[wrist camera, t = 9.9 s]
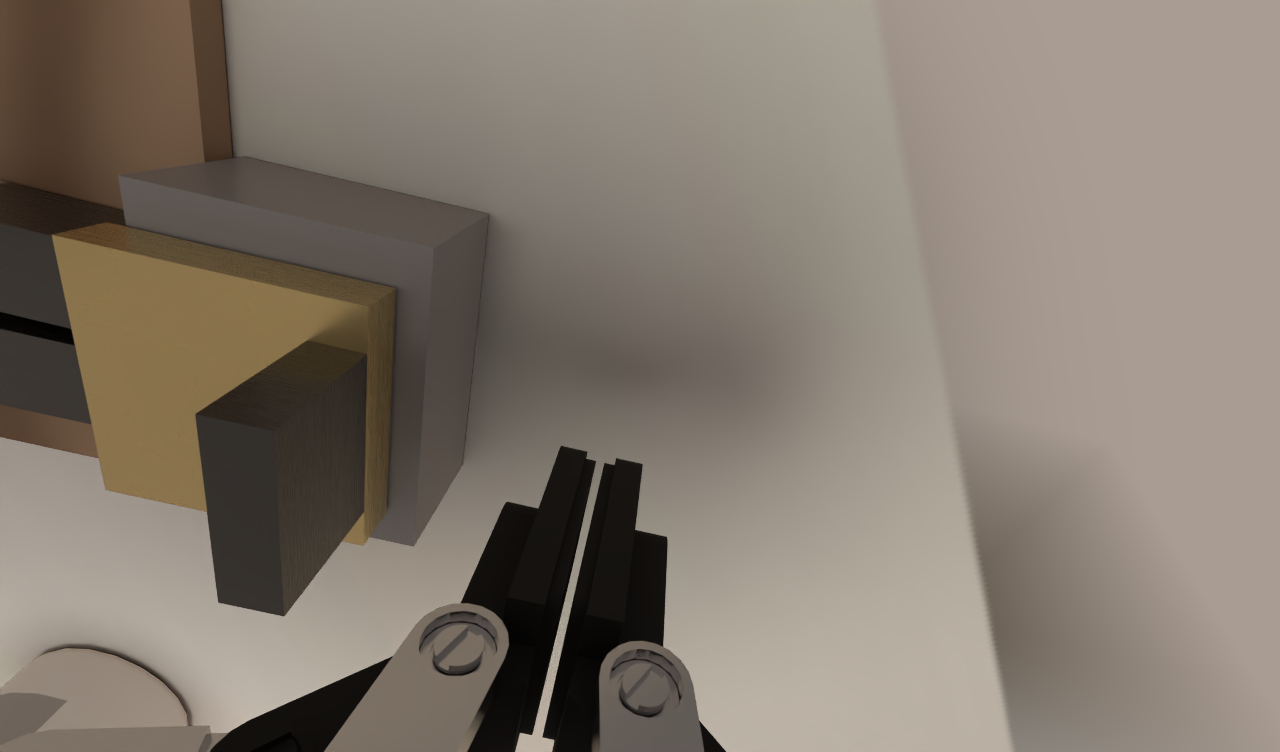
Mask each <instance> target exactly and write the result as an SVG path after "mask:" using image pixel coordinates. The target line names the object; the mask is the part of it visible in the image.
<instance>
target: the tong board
mask: <svg viewBox="0 0 1280 752" xmlns="http://www.w3.org/2000/svg"><path fill="white" fill-rule="evenodd" d="M231 158H233V156H232V143H231V129H230V116H229V103H228V90H227V77H226V63H225V50H224V37H223V24H222V10H221V0H0V180H2V181H6V182H10V183H14V184H18V185H22V186H26V187H30V188H34V189H38V190H42V191H46V192H50V193H54V194H58V195H62V196H66V197H70V198H74V199H78V200H83V201H87V202H91V203H95V204H99V205H103V206H107V207H111V208H115V209H119V210H123V203H122V197H121V191H120V184H119V178H118V175H123V174H130V173H137V172H143V171H150V170H157V169H164V168H170V167H177V166H184V165H191V164H197V163H204V162H211V161H217V160H224V159H231ZM123 211H124V210H123ZM0 437H3V438H8V439H12V440H17V441H21V442H26V443H31V444H35V445H40V446H44V447H49V448H54V449H58V450H63V451H67V452H72V453H77V454H81V455H86V456H90V457H95V458H99V456H98V451H97V447H96V442H95V437H94V433H93V428H92V425H91V424H87V423H82V422H77V421H73V420H68V419H64V418H59V417H55V416H50V415H45V414H41V413H36V412H32V411H27V410H23V409H18V408H13V407H9V406H4V405H0Z"/></svg>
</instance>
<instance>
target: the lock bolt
mask: <svg viewBox="0 0 1280 752" xmlns="http://www.w3.org/2000/svg"><path fill="white" fill-rule="evenodd" d="M52 239H53V244H54V249H55V253H56V258H57V263H58V267H59V272H60V277H61V282H62V286H63V291H64V296H65V300H66V305H67V310H68V315H69V319H70V324H71V329H72V333H73V338H74V343H75V348H76V352H77V357H78V362H79V367H80V371H81V376H82V381H83V385H84V390H85V395H86V400H87V404H88V409H89V414H90V418H91V423H92V428H93V433H94V437H95V442H96V447H97V451H98V456H99V461H100V466H101V470H102V475H103V480H104V484H105V489H106V490H108V491H113V492H118V493H122V494H127V495H132V496H136V497H141V498H146V499H150V500H155V501H159V502H164V503H169V504H173V505H178V506H183V507H187V508H192V509H196V510H201V511H206V512H207V515H208V523H209V531H210V539H211V547H212V555H213V564H214V572H215V580H216V588H217V596H218V603H223V604H228V605H233V606H237V607H242V608H247V609H252V610H256V611H261V612H266V613H270V614H275V615H280V616H285V615H286V614H287V612H288V611H289V610H290V608H291V607H292V606H293V604H294V603H295V602H296V600H297V599H298V598H299V597H300V595H301V594H302V593H303V591H304V590H305V589H306V587H307V586H308V585H309V583H310V582H311V581H312V580H313V578H314V577H315V576H316V574H317V573H318V572H319V570H320V569H321V568H322V567H323V565H324V564H325V563H326V561H327V560H328V559H329V557H330V556H331V555H332V553H333V552H334V551H335V550H336V548H337V547H338V546H339V544H340V543H341V542H342V541H345V542H349V543H354V544H359V545H363V546H364V544H365V543H366V541H367V540H368V538H369V537H370V536H371V534H372V533H373V531H374V530H375V529H376V527H377V526H378V524H379V523H380V522H381V520H382V519H383V517H384V516H385V515H386V513H387V490H388V466H389V441H390V417H391V392H392V368H393V343H394V319H395V294H396V288H392V287H388V286H383V285H379V284H375V283H370V282H366V281H362V280H357V279H353V278H348V277H344V276H340V275H335V274H331V273H327V272H322V271H318V270H314V269H309V268H305V267H300V266H296V265H292V264H287V263H283V262H279V261H274V260H270V259H265V258H261V257H257V256H252V255H248V254H244V253H239V252H235V251H231V250H226V249H222V248H217V247H213V246H209V245H204V244H200V243H196V242H191V241H187V240H183V239H178V238H174V237H169V236H165V235H161V234H156V233H152V232H148V231H143V230H139V229H135V228H130V227H126V226H121V225H117V224H113V223H108V222H106V223H101V224H97V225H93V226H88V227H84V228H79V229H75V230H71V231H66V232H62V233H57V234H53V235H52Z"/></svg>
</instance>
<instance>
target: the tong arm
mask: <svg viewBox="0 0 1280 752" xmlns="http://www.w3.org/2000/svg"><path fill="white" fill-rule="evenodd" d="M106 222H108V223H113V224H117V225H121V226H126V223H125V216H124V211H123V210H119V209H115V208H111V207H107V206H103V205H99V204H95V203H91V202H87V201H83V200H78V199H74V198H70V197H66V196H62V195H58V194H54V193H50V192H46V191H42V190H38V189H34V188H30V187H26V186H22V185H18V184H14V183H10V182H6V181H2V180H0V312H3V313H7V314H12V315H16V316H20V317H24V318H28V319H32V320H37V321H41V322H45V323H49V324H53V325H58V326H62V327H66V328H70V329H71V324H70V319H69V315H68V310H67V305H66V300H65V296H64V291H63V286H62V282H61V277H60V272H59V267H58V263H57V258H56V253H55V249H54V244H53V239H52V235H53V234H57V233H62V232H66V231H71V230H75V229H79V228H84V227H88V226H93V225H97V224H101V223H106Z"/></svg>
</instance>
